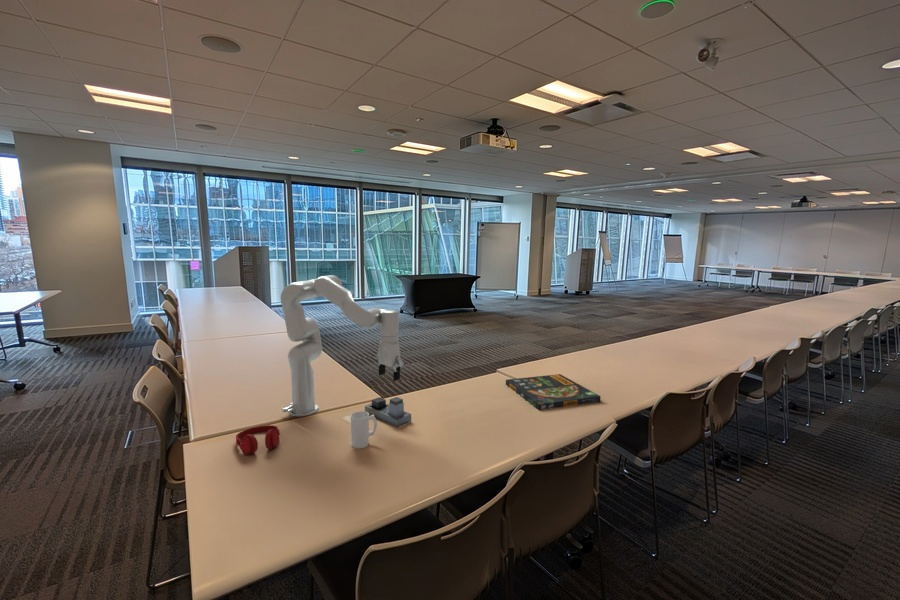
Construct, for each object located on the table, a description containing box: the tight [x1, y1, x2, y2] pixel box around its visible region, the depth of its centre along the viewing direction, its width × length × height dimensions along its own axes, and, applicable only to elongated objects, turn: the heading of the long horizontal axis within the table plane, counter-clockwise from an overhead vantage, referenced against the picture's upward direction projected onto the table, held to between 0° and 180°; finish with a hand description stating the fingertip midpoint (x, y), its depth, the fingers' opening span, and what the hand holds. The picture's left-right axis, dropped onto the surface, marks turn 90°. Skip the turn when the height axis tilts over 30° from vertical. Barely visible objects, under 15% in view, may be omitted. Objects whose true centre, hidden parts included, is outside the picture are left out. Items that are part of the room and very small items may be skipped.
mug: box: [350, 410, 378, 450], centre depth 145 cm, size 10×7×12 cm, turn 119°
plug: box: [388, 396, 405, 418], centre depth 164 cm, size 4×4×9 cm
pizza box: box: [505, 373, 601, 411], centre depth 200 cm, size 35×35×4 cm
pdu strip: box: [364, 397, 412, 429], centre depth 168 cm, size 8×22×6 cm, turn 50°
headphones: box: [235, 424, 281, 456], centre depth 145 cm, size 15×7×20 cm
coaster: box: [340, 414, 351, 425], centre depth 167 cm, size 10×10×1 cm
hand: (389, 377), depth 164 cm, fingers open, 9 cm apart
